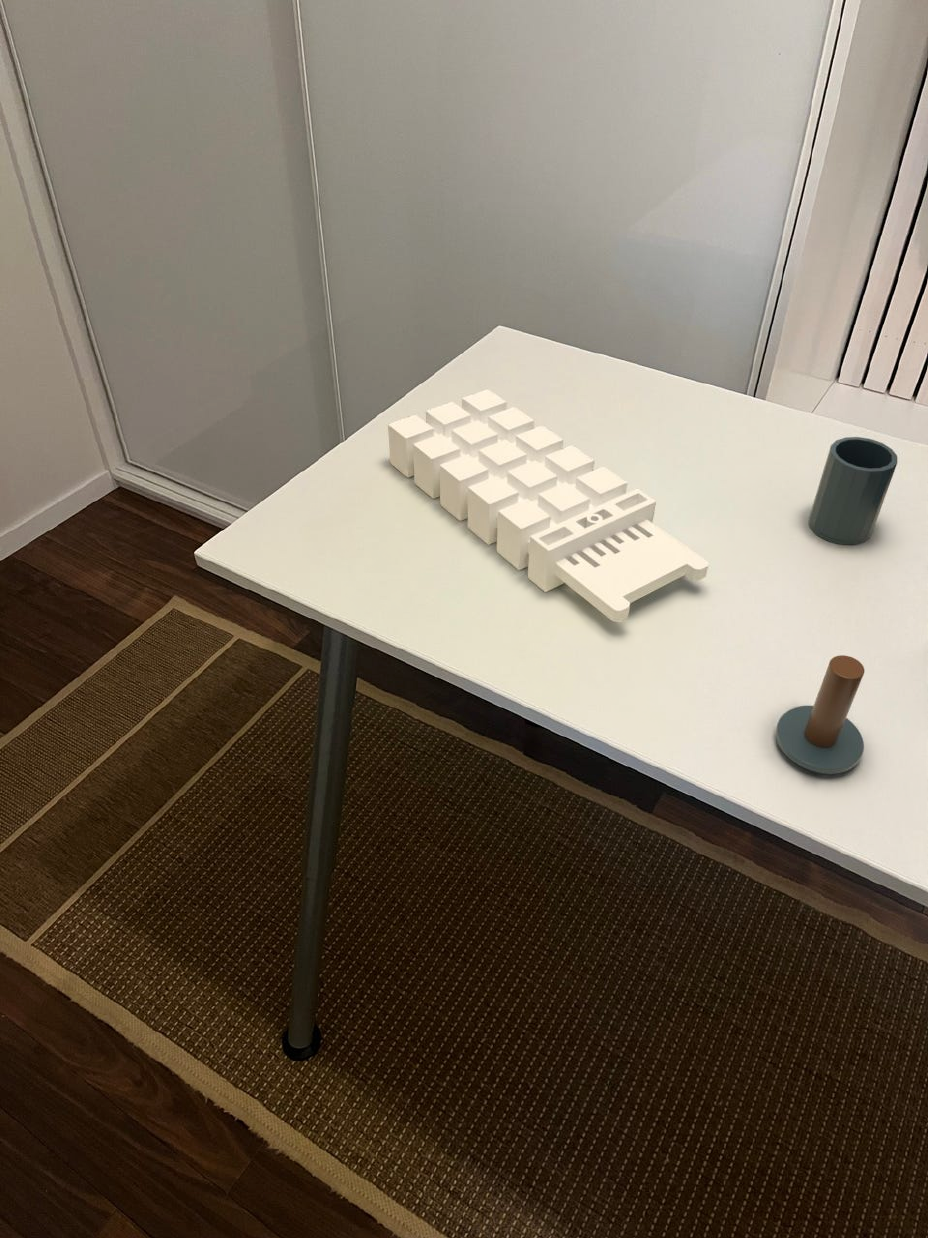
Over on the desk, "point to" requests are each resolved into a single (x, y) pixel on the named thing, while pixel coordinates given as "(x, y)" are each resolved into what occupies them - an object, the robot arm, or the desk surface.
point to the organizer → (541, 502)
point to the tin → (852, 490)
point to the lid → (825, 723)
